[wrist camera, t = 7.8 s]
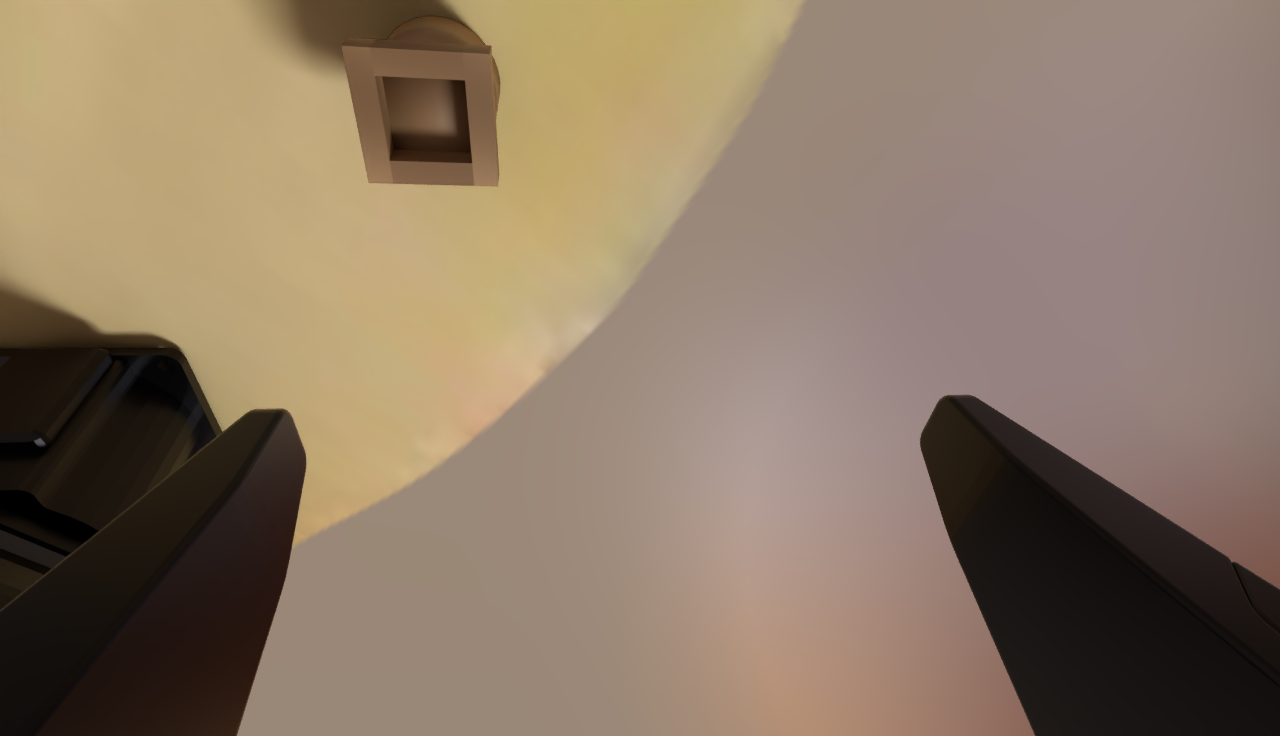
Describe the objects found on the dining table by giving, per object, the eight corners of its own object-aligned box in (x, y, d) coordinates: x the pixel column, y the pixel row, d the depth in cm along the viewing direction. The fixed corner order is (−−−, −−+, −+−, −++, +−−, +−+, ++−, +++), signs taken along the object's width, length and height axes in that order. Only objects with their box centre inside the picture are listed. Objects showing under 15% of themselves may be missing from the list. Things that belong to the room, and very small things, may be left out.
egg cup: (503, 139, 19) (498, 186, 17) (390, 134, 19) (368, 182, 16) (496, 19, 17) (489, 54, 15) (369, 12, 17) (341, 45, 14)
